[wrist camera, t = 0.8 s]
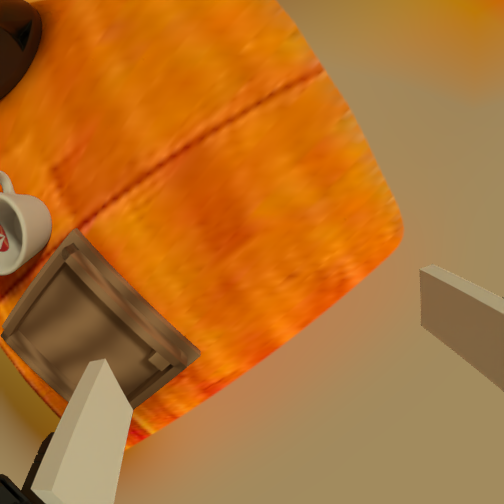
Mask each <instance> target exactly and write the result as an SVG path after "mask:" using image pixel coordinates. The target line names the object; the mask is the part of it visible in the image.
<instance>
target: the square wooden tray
mask: <svg viewBox="0 0 504 504" xmlns="http://www.w3.org/2000/svg"><path fill="white" fill-rule="evenodd" d="M2 327H3V328H4V331H3V333H2V334H1V337H2V338H3V339H4V340H5V341H6V343H7V344H8V345H9V346H10V347H11V348H12V349H13V350H14V351H15V352H16V353H17V354H18V355H19V356H20V357H21V358H22V359H23V360H24V361H25V362H26V363H27V364H28V365H29V366H30V367H31V368H32V369H33V370H34V371H35V372H36V373H37V374H38V375H39V376H40V377H41V378H42V379H43V380H44V381H45V382H46V383H47V384H49V385H50V386H51V387H52V388H53V389H54V390H55V391H56V392H57V393H59V394H60V395H61V396H62V397H63V398H64V399H66V400H67V401H68V402H69V401H70V399H71V397H72V395H73V393H74V391H75V389H76V387H77V385H78V383H79V381H80V379H81V377H82V375H83V373H84V372H85V370H86V368H87V366H88V364H89V362H91V361H96V360H101V359H106V361H107V363H108V365H109V367H110V368H111V370H112V372H113V374H114V376H115V378H116V380H117V382H118V384H119V386H120V387H121V389H122V391H123V393H124V395H125V397H126V398H127V400H128V402H129V404H130V405H131V407H132V409H133V410H134V409H135V408H136V407H137V406H139V405H140V404H141V403H143V402H144V401H145V400H146V399H148V398H149V397H150V396H152V395H153V394H154V393H155V392H157V391H158V390H159V389H160V388H162V387H163V386H164V385H165V384H167V383H168V382H169V381H170V380H172V379H173V378H174V377H175V376H177V375H178V374H179V373H180V372H182V371H183V370H184V369H185V368H187V366H189V365H190V364H191V363H192V362H194V361H195V360H196V359H197V358H198V357H200V350H199V349H198V348H197V347H195V346H194V345H193V344H192V343H191V342H190V341H189V340H188V339H186V338H185V337H184V336H183V335H182V334H181V333H180V332H179V331H178V330H176V329H175V328H174V327H173V326H172V325H171V324H170V323H169V322H168V321H167V320H166V319H165V318H164V317H162V316H161V315H160V314H159V313H158V312H157V311H156V310H155V309H154V308H153V307H152V306H151V305H150V304H149V303H148V302H147V301H146V300H145V299H144V298H143V297H142V296H141V295H140V294H139V293H138V292H137V291H136V290H135V289H134V288H133V287H132V286H131V285H130V284H129V283H128V282H127V281H126V280H125V279H124V278H123V277H122V276H121V275H120V274H119V273H118V272H117V271H116V270H115V269H114V268H113V267H112V266H111V265H110V264H109V263H108V262H107V261H106V260H105V259H104V257H103V256H102V255H101V254H100V253H99V252H98V251H97V250H96V249H95V248H94V247H93V246H92V244H91V243H90V242H89V241H88V240H87V239H86V238H85V237H84V236H83V234H82V233H81V232H80V231H79V230H78V229H77V228H76V229H74V230H72V231H71V233H70V234H69V235H68V236H67V237H66V239H65V240H64V241H63V242H62V243H61V245H60V246H59V247H58V248H57V250H56V251H55V252H54V254H53V255H52V256H51V257H50V259H49V260H48V261H47V263H46V264H45V265H44V266H43V268H42V269H41V270H40V272H39V273H38V274H37V276H36V277H35V279H34V280H33V281H32V283H31V284H30V285H29V287H28V288H27V290H26V291H25V293H24V294H23V295H22V297H21V298H20V300H19V301H18V303H17V304H16V306H15V307H14V309H13V310H12V312H11V313H10V315H9V316H8V318H7V319H6V321H5V322H4V324H3V325H2Z"/></svg>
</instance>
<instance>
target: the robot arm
mask: <svg viewBox="0 0 504 504" xmlns="http://www.w3.org/2000/svg"><path fill="white" fill-rule="evenodd" d="M41 32H42V23H41V18H40V15H39V13H38V12H37V11H36V9H34V8H33V7H32V6H31V5H30V4H29V3H28V2H26V1H24V0H0V99H1V98H3V97H4V96H5V95H6V94H7V93H9V92H10V91H11V90H12V89H13V88H14V87H15V85H16V84H17V83H18V82H19V81H20V79H21V78H22V77H23V75H24V74H25V72H26V71H27V69H28V68H29V66H30V64H31V62H32V60H33V58H34V56H35V54H36V52H37V49H38V46H39V43H40V39H41ZM420 287H421V288H420V291H421V326H423V327H424V328H425V329H426V330H428V331H429V332H430V333H432V334H433V335H434V336H436V337H437V338H438V339H439V340H441V341H442V342H443V343H444V344H446V345H447V346H448V347H450V348H451V349H452V350H453V351H455V352H456V353H457V354H458V355H460V356H461V357H462V358H463V359H465V360H466V361H467V362H468V363H470V364H471V365H472V366H473V367H474V368H476V369H477V370H478V371H479V372H481V373H482V374H483V375H484V376H486V377H487V378H488V379H489V380H490V381H492V382H493V383H494V384H495V385H497V386H498V387H499V388H500V389H501V390H503V391H504V298H503V297H500V296H498V295H496V294H494V293H492V292H490V291H488V290H486V289H484V288H482V287H480V286H478V285H476V284H474V283H472V282H470V281H468V280H466V279H463V278H462V277H460V276H457V275H455V274H453V273H451V272H449V271H447V270H445V269H443V268H440V267H438V266H436V265H434V264H432V265H429V266H427V267H424V268H421V269H420ZM132 413H133V409H132V407H131V405H130V404H129V402H128V400H127V398H126V397H125V395H124V393H123V391H122V389H121V387H120V386H119V384H118V382H117V380H116V378H115V376H114V374H113V372H112V370H111V368H110V367H109V365H108V363H107V361H106V359H101V360H96V361H91V362H89V364H88V366H87V368H86V370H85V372H84V373H83V375H82V377H81V379H80V381H79V383H78V385H77V387H76V389H75V391H74V393H73V395H72V397H71V399H70V401H69V403H68V405H67V407H66V409H65V411H64V413H63V416H62V418H61V420H60V422H59V424H58V426H57V428H56V431H55V432H52V433H50V434H49V435H48V437H47V438H46V439H45V440H44V441H43V442H42V444H41V447H40V448H39V451H38V455H36V457H35V459H34V463H33V464H32V466H31V468H30V471H29V473H28V476H27V478H26V480H25V483H24V485H23V487H22V490H20V489H19V488H18V487H17V486H16V485H15V484H14V483H13V482H12V481H11V480H10V479H9V478H8V477H7V476H5V475H3V474H0V504H114V499H115V494H116V488H117V483H118V478H119V473H120V468H121V462H122V458H123V453H124V449H125V444H126V439H127V435H128V431H129V426H130V422H131V418H132Z"/></svg>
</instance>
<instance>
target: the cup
mask: <svg viewBox="0 0 504 504" xmlns="http://www.w3.org/2000/svg"><path fill="white" fill-rule="evenodd" d="M0 184H1V185H2V188H3V193H1V192H0V275H8V274H11V273H13V272H14V271H16V270H17V269H18V268H19V267H21V266H22V265H23V264H24V263H26V262H27V261H28V260H29V259H31V258H32V257H33V256H35V255H36V254H37V253H38V252H40V251H41V250H42V249H43V248H44V247H45V245H46V244H47V242H48V240H49V238H50V235H51V231H52V220H51V216H50V213H49V210H48V208H47V207H46V205H45V204H44V203H43V202H42V201H41V200H40V199H38V198H36V197H34V196H30V195H20V194H16V193H15V191H14V189H13V185H12V183H11V180H10V178H9V177H8V175H7V174H6V173H4V172H2V171H0Z"/></svg>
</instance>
